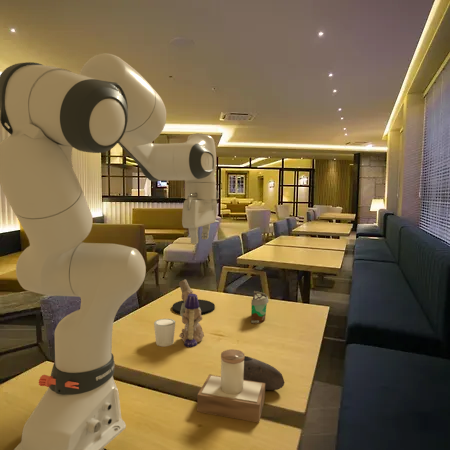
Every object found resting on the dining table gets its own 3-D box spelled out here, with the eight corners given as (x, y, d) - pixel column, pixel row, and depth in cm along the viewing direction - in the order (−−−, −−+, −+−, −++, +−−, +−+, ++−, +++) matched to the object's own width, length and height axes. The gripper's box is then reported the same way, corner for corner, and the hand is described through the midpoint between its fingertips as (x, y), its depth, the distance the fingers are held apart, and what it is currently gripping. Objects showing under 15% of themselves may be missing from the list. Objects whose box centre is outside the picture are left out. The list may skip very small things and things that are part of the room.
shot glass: (171, 348, 110) (171, 326, 110) (150, 346, 112) (150, 324, 111) (178, 339, 117) (178, 319, 116) (158, 337, 118) (158, 317, 118)
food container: (267, 327, 129) (268, 301, 128) (250, 326, 130) (251, 299, 129) (268, 316, 141) (269, 291, 140) (253, 314, 142) (254, 290, 141)
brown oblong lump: (286, 388, 89) (287, 362, 88) (280, 399, 84) (281, 371, 83) (233, 374, 95) (233, 349, 95) (224, 383, 91) (225, 357, 90)
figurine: (176, 335, 120) (176, 278, 118) (199, 332, 123) (200, 276, 121) (183, 346, 111) (183, 284, 110) (208, 342, 115) (209, 282, 113)
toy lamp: (200, 342, 115) (200, 292, 114) (197, 348, 111) (197, 297, 109) (185, 341, 116) (186, 292, 114) (182, 347, 111) (182, 296, 110)
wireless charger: (197, 301, 160) (197, 296, 160) (223, 311, 147) (223, 306, 147) (164, 309, 148) (164, 304, 148) (189, 321, 135) (189, 315, 135)
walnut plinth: (259, 422, 75) (259, 404, 75) (197, 411, 79) (197, 393, 78) (264, 399, 84) (265, 382, 84) (209, 390, 87) (209, 373, 87)
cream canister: (241, 396, 78) (241, 361, 77) (217, 392, 79) (218, 358, 78) (245, 383, 83) (246, 351, 82) (223, 380, 84) (224, 348, 83)
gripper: (199, 193, 89) (198, 246, 90) (220, 193, 109) (219, 237, 110) (176, 192, 91) (176, 245, 92) (200, 193, 110) (200, 236, 112)
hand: (199, 241), depth 101 cm, fingers open, 8 cm apart
